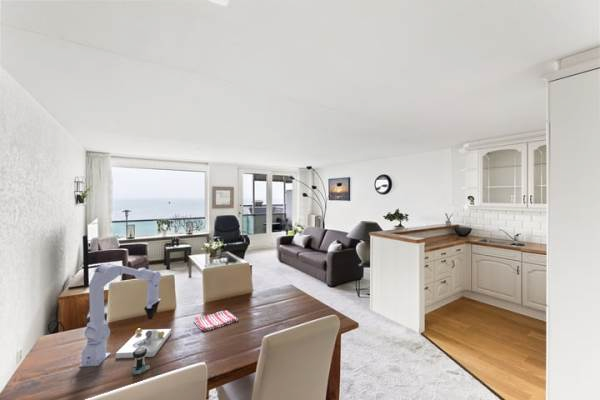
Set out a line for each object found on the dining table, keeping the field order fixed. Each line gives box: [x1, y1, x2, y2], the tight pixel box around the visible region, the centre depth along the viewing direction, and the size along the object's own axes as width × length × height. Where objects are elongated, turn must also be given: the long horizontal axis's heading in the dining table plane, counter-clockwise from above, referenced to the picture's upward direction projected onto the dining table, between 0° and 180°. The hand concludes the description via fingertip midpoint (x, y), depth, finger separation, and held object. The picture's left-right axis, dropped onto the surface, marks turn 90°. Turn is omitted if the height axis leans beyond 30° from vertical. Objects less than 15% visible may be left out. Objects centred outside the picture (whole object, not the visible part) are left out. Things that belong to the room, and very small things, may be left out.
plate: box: [115, 328, 172, 359], centre depth 132 cm, size 22×17×2 cm
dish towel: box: [193, 310, 239, 332], centre depth 160 cm, size 17×23×4 cm
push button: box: [132, 347, 150, 376], centre depth 111 cm, size 7×5×10 cm
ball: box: [145, 331, 152, 337], centre depth 135 cm, size 3×3×3 cm
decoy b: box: [157, 331, 164, 338], centre depth 135 cm, size 3×3×3 cm
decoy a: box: [134, 327, 143, 335], centre depth 137 cm, size 3×3×3 cm
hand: (152, 315), depth 144 cm, fingers open, 7 cm apart
